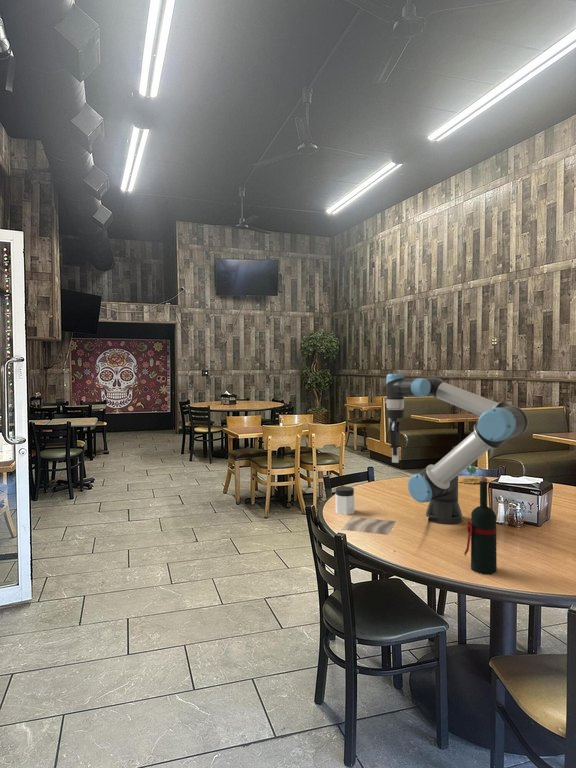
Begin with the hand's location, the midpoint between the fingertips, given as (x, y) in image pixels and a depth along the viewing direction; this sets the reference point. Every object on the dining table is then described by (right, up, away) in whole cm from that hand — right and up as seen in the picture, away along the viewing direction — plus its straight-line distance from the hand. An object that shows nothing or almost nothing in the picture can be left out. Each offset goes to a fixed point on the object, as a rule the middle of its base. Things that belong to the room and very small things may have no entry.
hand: (395, 462), depth 214 cm
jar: (-22, -25, +5) cm, 33 cm away
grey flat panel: (-15, -25, -14) cm, 32 cm away
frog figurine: (+59, -22, +64) cm, 90 cm away
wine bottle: (+15, -26, -56) cm, 64 cm away
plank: (-19, -25, -12) cm, 33 cm away
